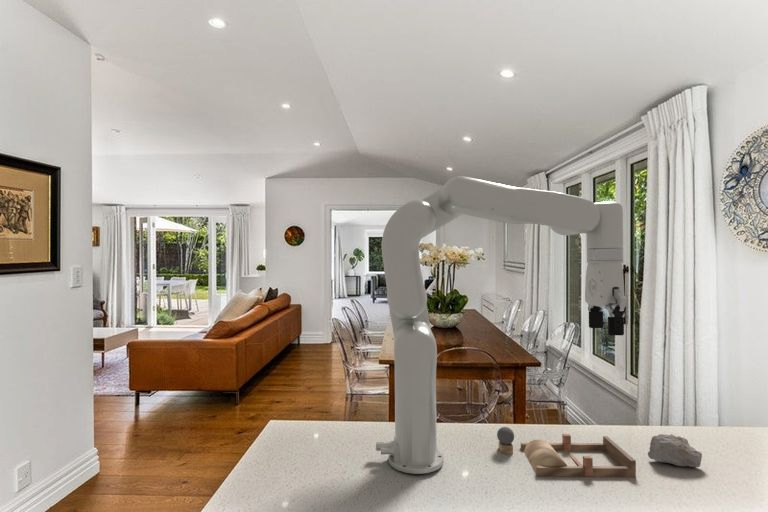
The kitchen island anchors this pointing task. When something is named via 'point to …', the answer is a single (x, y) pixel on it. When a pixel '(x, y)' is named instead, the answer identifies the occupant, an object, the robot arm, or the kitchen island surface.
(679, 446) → the stone
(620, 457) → the wooden roller rack
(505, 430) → the ball
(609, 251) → the robot arm
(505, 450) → the tee
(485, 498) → the kitchen island surface
